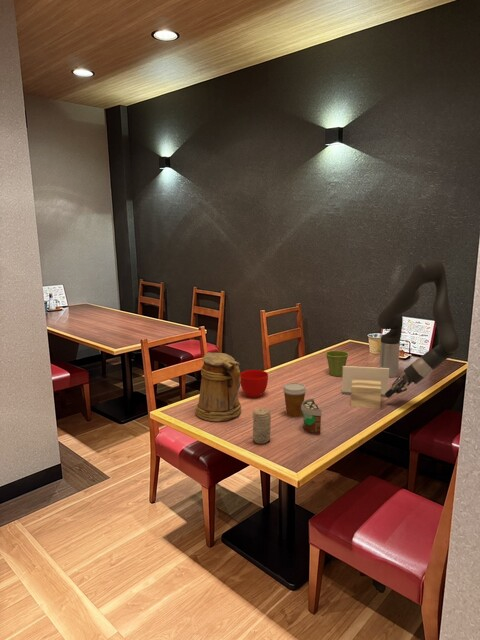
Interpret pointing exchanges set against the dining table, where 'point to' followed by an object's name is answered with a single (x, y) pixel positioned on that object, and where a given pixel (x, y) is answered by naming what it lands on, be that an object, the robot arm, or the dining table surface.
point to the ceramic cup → (254, 382)
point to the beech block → (366, 393)
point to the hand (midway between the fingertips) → (386, 396)
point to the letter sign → (364, 377)
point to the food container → (311, 416)
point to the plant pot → (336, 362)
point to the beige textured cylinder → (261, 425)
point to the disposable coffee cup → (294, 398)
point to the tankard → (219, 388)
